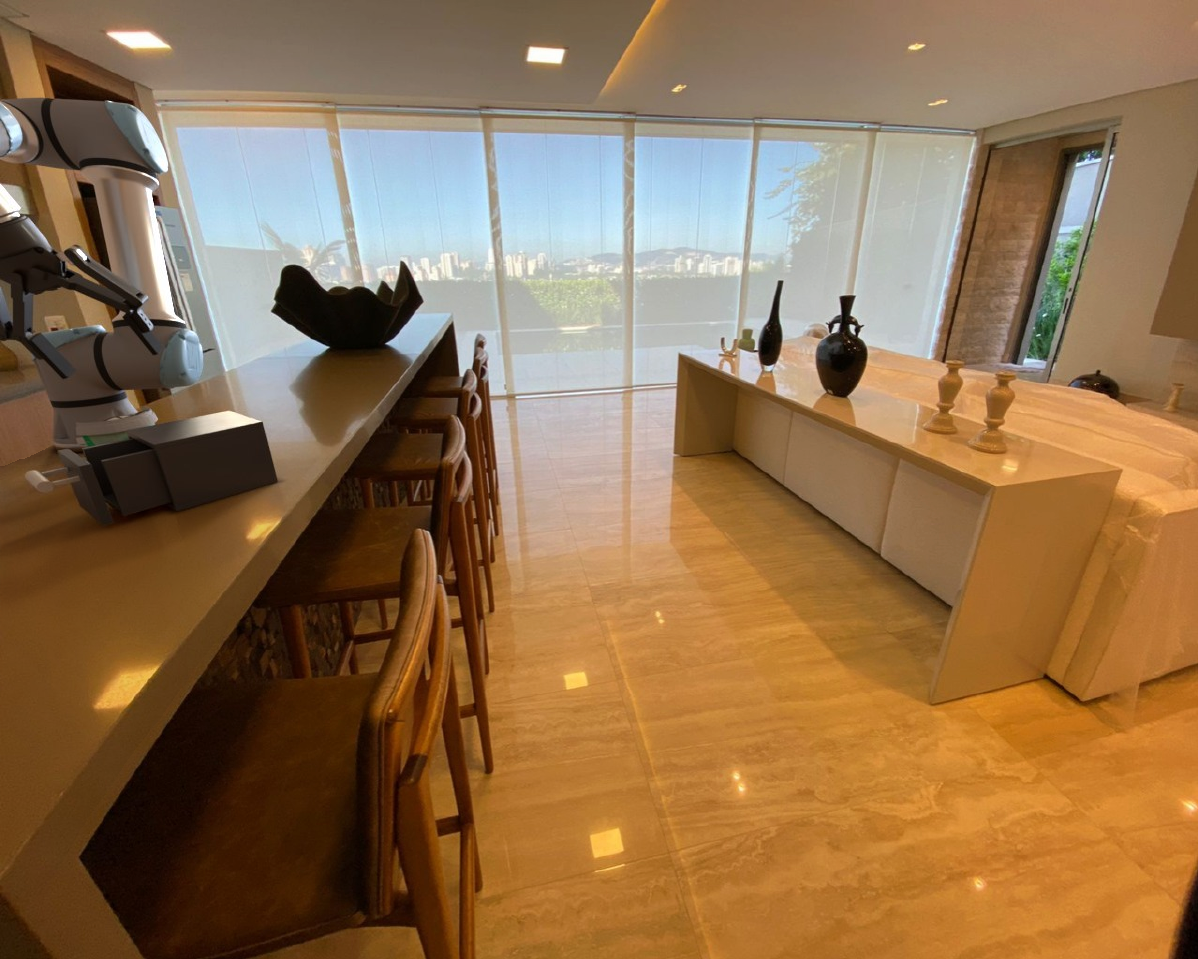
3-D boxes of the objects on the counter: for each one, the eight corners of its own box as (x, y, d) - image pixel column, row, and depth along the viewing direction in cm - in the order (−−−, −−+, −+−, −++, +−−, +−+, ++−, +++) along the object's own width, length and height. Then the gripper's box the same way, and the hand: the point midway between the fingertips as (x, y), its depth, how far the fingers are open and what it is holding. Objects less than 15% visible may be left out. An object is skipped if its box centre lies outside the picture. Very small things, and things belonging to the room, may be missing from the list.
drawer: (60, 538, 70) (33, 476, 66) (40, 516, 76) (14, 459, 72) (213, 493, 83) (197, 440, 80) (185, 478, 89) (169, 428, 86)
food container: (122, 481, 91) (101, 425, 87) (94, 479, 92) (72, 423, 88) (187, 457, 102) (171, 407, 98) (161, 455, 103) (144, 405, 99)
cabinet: (176, 511, 79) (154, 444, 75) (147, 493, 86) (125, 430, 82) (278, 481, 90) (262, 421, 86) (245, 466, 97) (229, 410, 93)
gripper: (-134, 254, 66) (18, 396, 80) (76, 205, 68) (187, 351, 82) (-92, 237, 71) (43, 373, 85) (101, 193, 74) (201, 332, 88)
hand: (114, 363), depth 84 cm, fingers open, 13 cm apart
